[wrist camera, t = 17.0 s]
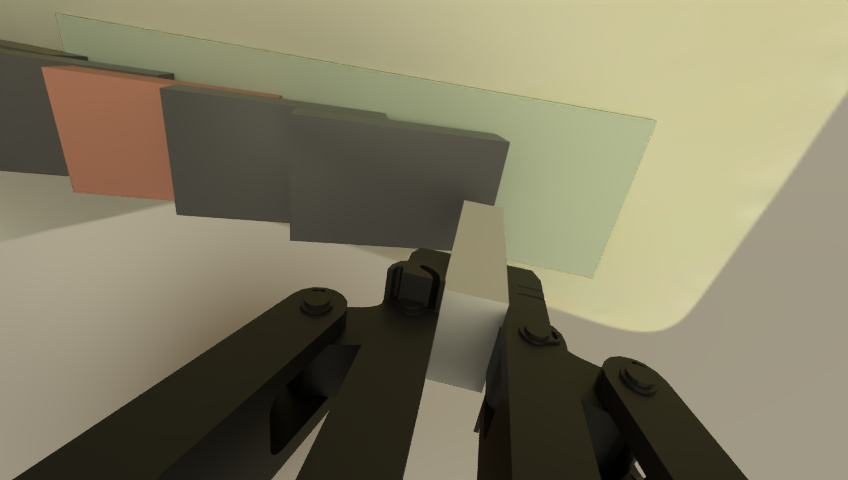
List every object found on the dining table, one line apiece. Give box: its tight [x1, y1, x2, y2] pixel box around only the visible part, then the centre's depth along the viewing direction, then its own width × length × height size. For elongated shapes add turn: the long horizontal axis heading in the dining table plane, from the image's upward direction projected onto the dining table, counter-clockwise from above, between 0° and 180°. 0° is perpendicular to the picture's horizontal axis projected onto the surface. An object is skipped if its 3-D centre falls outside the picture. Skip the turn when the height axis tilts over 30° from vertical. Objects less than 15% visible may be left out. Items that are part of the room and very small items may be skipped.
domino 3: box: [290, 107, 510, 251], centre depth 19 cm, size 6×2×10 cm
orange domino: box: [41, 66, 282, 201], centre depth 20 cm, size 6×2×10 cm
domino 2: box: [159, 84, 388, 223], centre depth 19 cm, size 6×2×10 cm
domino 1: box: [0, 48, 175, 176], centre depth 20 cm, size 6×2×10 cm
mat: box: [55, 13, 657, 278], centre depth 22 cm, size 9×33×1 cm, turn 81°
